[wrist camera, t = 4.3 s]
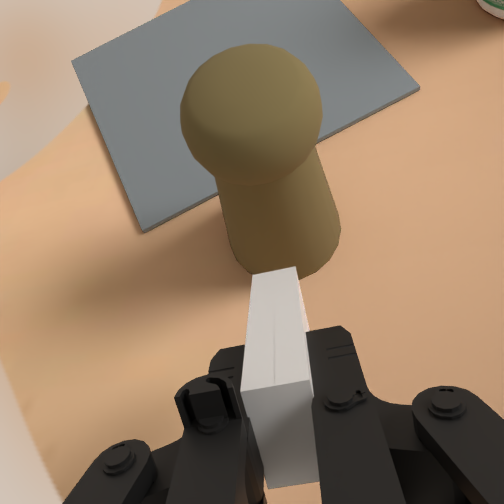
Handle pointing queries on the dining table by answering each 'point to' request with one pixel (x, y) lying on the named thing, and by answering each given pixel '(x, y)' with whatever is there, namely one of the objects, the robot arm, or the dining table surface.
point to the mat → (198, 52)
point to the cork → (263, 156)
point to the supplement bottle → (493, 7)
